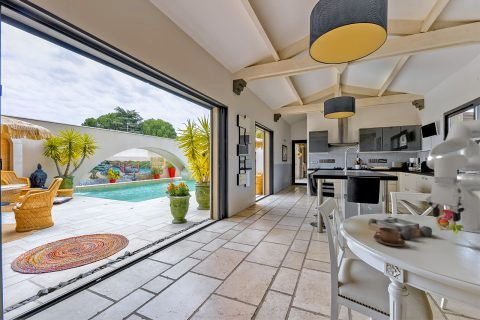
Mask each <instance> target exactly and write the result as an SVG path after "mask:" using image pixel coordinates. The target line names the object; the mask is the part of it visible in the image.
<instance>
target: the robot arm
mask: <svg viewBox="0 0 480 320" xmlns="http://www.w3.org/2000/svg"><path fill="white" fill-rule="evenodd" d="M473 139H480V118H479V119H470V120H461V121H457V122H454V123H453V124H452V125H450V127H449V130H448V133H447V136H446V138H445V140H442V141H441V142H439V143H438V144H436V145H434V146H432V148H431V149H430V150H429V152H428V155H427V157H426V166H427V167H428V168H429V169H432V170H434V171H433V172H434V174H433V175H434V182H433V183H432V185H431V191H430V196H428V197H427V198H425V201H426V203H428V205H429V206H430V207H431V209H432V214H433V217H434V218H436V217H438V216H439V215H441V214H440V213H441V212H440V210H441V209H440V208H439V207H440V205H442V206H447V207H451V208H452V210H453V212H455V213H453V217H452V218H453V221H455V222H456V225H462V226H463V227H464V228H461V229H462V231H463V232H470V233H475V234H476V233H477V234H480V197H479V195H477V194H476V193H475V192H480V173H476V172H480V145H479V143H478V142H476V141H475V140H473ZM454 152H457V153H454ZM450 153H451V154H450ZM458 170H459V171H462V172H465V173H458ZM466 172H475V173H466Z"/></svg>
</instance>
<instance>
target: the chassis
mask: <svg viewBox="0 0 480 320" xmlns="http://www.w3.org/2000/svg"><path fill="white" fill-rule="evenodd" d="M367 224H368V226H369V230H371V231H375V232H379V228H391V229H395V230H397V231H398V232H399V238H400V239H402V240H407V241H410V240H411V239H412V238H416V237H423V236H424V237H426V238H430V237H431V236H432V233H433V230H432V228H431V227H430V226H428V225H423V226H420V223H417V222H413V221H409V220H406V219H402V218H398V217H393V216H388V217H387V218H381V219H375V218H370V219H369V220H368V223H367Z"/></svg>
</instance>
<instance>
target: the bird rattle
mask: <svg viewBox="0 0 480 320" xmlns="http://www.w3.org/2000/svg"><path fill="white" fill-rule="evenodd" d="M442 212H443V214H440V215H439V216H438V217H435V219H434V222H435V224H436V226H437V227H438V228H439V230H440V231H452V232H453V234H454V235H456V234H458V233H459V231H460V232H462V231H463V230H462V229H461V228H464V227H463V226H462V225H456V222H455V221H453V213H455V211H452V210H451V209H442Z"/></svg>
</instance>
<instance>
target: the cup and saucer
mask: <svg viewBox="0 0 480 320" xmlns="http://www.w3.org/2000/svg"><path fill="white" fill-rule="evenodd" d="M373 239H374V240H376V241H377V242H378V243H380V244H383V245H388V246H392V247H402V246H404V245H405V244H406V241H405V239H400V238H399V232H398V231H397V230H395V229H391V228H379V232H377V231H375V233H374V235H373Z"/></svg>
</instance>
